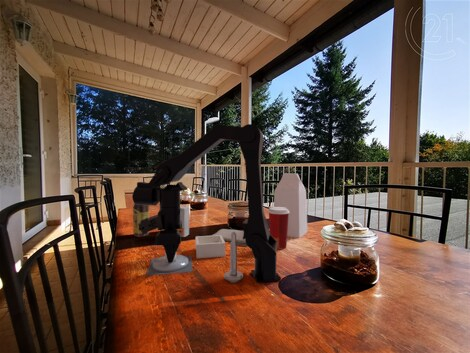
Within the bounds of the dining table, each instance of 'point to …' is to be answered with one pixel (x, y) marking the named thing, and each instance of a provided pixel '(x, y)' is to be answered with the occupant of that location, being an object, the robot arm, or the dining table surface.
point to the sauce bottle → (139, 218)
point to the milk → (293, 203)
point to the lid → (164, 266)
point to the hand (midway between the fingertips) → (170, 259)
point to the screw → (233, 262)
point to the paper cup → (279, 225)
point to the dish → (210, 246)
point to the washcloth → (227, 236)
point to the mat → (154, 272)
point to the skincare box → (184, 221)
